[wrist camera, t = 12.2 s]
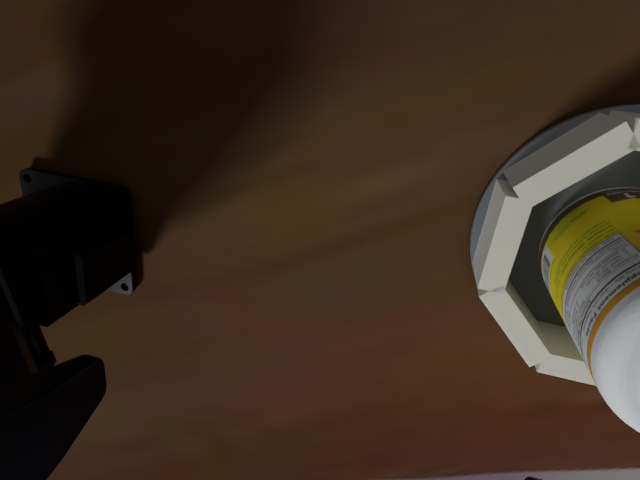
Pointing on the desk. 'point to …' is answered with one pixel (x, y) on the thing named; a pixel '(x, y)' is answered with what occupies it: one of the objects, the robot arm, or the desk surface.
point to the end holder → (533, 218)
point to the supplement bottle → (600, 289)
